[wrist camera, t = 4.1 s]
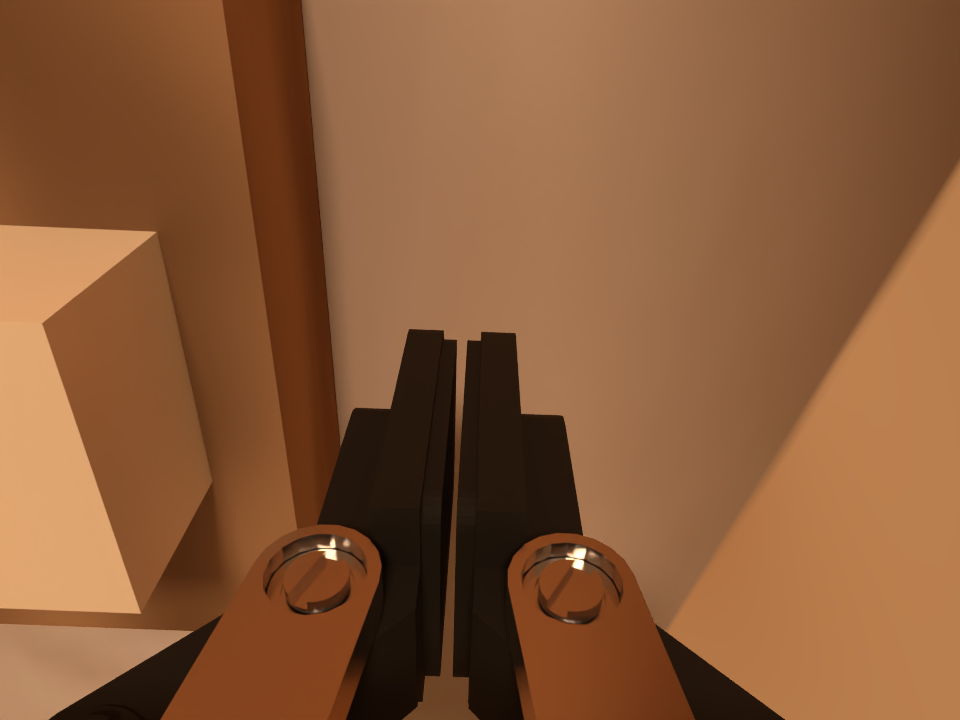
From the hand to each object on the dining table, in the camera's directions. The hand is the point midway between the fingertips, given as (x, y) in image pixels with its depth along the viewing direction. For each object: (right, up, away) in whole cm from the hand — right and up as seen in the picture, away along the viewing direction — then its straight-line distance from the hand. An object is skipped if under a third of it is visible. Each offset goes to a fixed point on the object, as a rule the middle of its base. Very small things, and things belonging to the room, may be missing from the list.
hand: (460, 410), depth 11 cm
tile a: (-7, +1, +1) cm, 7 cm away
